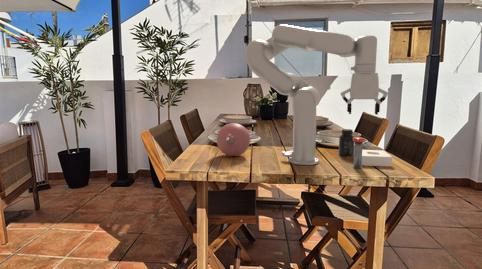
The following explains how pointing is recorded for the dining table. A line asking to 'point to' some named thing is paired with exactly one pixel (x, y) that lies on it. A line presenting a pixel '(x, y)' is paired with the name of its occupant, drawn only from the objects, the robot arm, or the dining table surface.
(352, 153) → the supplement bottle
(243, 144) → the pink rounded piece
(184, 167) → the dining table surface
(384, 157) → the socket block
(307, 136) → the robot arm
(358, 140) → the red topped grey cylinder
